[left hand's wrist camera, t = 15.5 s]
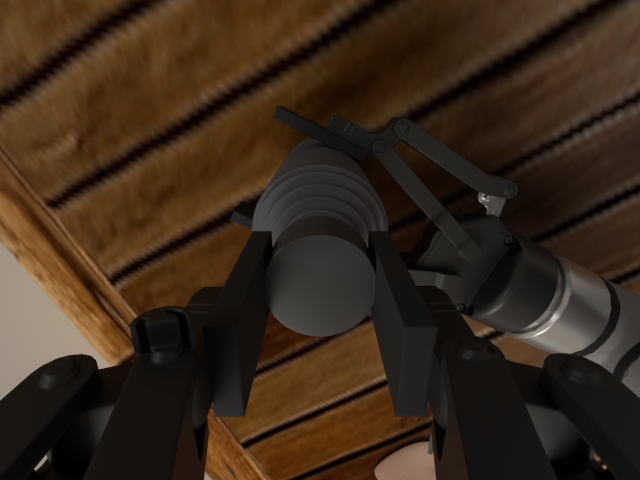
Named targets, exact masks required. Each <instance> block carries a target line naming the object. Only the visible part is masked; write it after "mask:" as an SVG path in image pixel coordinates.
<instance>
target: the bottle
mask: <svg viewBox="0 0 640 480" xmlns="http://www.w3.org/2000/svg"><path fill="white" fill-rule="evenodd" d="M314 216H327V217H332V218H336V219H339V220H341V221H344V222H345V223H347V224H349V225H350V226H352V227H353V228H354V229H355V230H356V231H357V232H358V233H359V234H360V235H361V236H362V238H363V239H364V241H365V243H366V245H367V248H368V236H369V231H388V220H387V215H386V211H385V208H384V205H383V203H382V201H381V199H380V197H379V196H378V194H377V193H376V191H375V189H374V188H373V186H372V185H371V183H370V182H369V180H368V178H367V177H366V175H365V174H364V172H363V171H362V169H361V167H360V166H359V164H358V163H357V161H356V160H355V159H354V158H352V157H350V156H348V155H346V154H344V153H342V152H340V151H338V150H336V149H334V148H332V147H330V146H328V145H326V144H324V143H322V142H320V141H318V140H316V139H314V138H310V139H307V140H304V141H302V142H301V143H299V144H298V145H296V146H295V147H294V148H293V149H292V150H291V151H290V152H289V154H288V155H287V157H286V158H285V160H284V161H283V163H282V165H281V166H280V168H279V169H278V171H277V172H276V174H275V176H274V177H273V179H272V180H271V182H270V183H269V185H268V187H267V188H266V190H265V191H264V193H263V194H262V196H261V198H260V200H259V201H258V204H257V206H256V209H255V212H254V216H253V223H252V232H253V231H272V247H273V246H274V243H275V242H276V240H277V238H278V237H279V235H280V234H281V233H282V232H283V231H284V230H285V229H286V228H287V227H289V226H290V225H291V224H293V223H295V222H297V221H299V220H301V219H304V218H308V217H314Z"/></svg>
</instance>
